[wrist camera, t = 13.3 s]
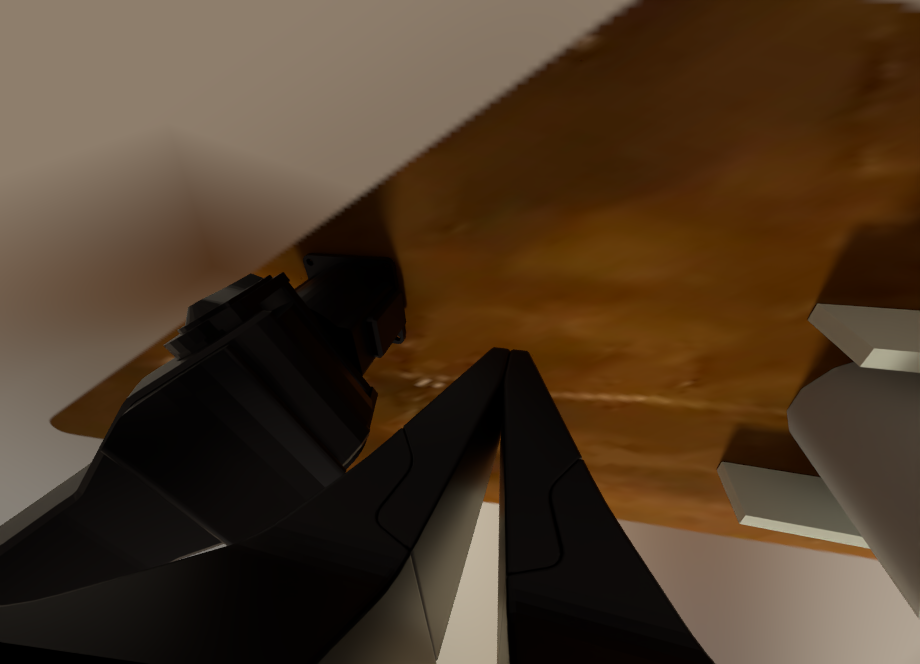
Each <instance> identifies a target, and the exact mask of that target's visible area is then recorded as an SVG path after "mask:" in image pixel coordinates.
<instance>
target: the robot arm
mask: <svg viewBox="0 0 920 664" xmlns="http://www.w3.org/2000/svg"><path fill="white" fill-rule="evenodd" d="M310 259H311V260H312V261H313V263H312V262H311V261H310ZM303 262H304V265H305V269H306V272H307V275H308V280H306V281H305V282H304V283H302V284H301V285H299V286H298V287H297V288H295V289H294V288H293V287H292V286H291V284H290V283H289V281H290V280H289V279H288V277H287V276H286V275H285V273H284V272H282V273H281V274H279V275H277V276H275V277H274V278H272V277H271V275H269V276H267V277H265V278H261V277H259V276H256V275H254V274H249V275H247V276H245V277H244V278H242V279H240V280H238V281H237V282H235V283H233V284H231V285H229V286H227V287H226V288H224V289H222V290H220V291H218V292H216V293H214V294H212V295H210V296H208V297H206V298H204V299H202V300H200V301H198V302H196V303H195V304H193V305H191V306H190V307H188V311H187V317H186V324H185V326H183V327H182V328H180V329H179V330H177V331H178V332H179V333H180V334H179V335H178V336H176V337H175V338H173V339H172V340H171V341H169V342H168V343H166V344H165V345H163V346H164V347H165V348H167V349H168V350H169V351H170V352H171V353H172V354H173V355H174V356H175V358H174V359H172V360H171V361H169V362H168V363H166V364H164V365H163V366H161V367H160V368H158V369H157V370H155V371H154V372H152V373H150V374H149V375H147V376H146V377H145V378H143V379H142V380H141V381H140V382H139V384H138V385H137V386H136V387H135V389H134V390H133V391H132V393H131V394H130V395H129V396H128V398H127V399H126V400H125V402H124V403H123V404H122V406H121V408H120V410H119V412H118V414H117V415H116V417H115V419H114V421H113V423H112V425H111V427H110V429H109V430H108V432H107V434H106V436H105V438H104V440H103V442H102V444H101V446H100V447H99V449H98V451H97V453H96V455H95V457H94V459H93V461H92V462H91V463H90V464H89V465H88V466H86V467H85V468H83V469H82V470H81V471H79V472H78V473H76V474H75V475H73V476H72V477H70V478H69V479H68V480H66V481H65V482H63V483H62V484H60V485H59V486H57V487H56V488H55V489H53V490H52V491H50V492H49V493H47V494H46V495H44V496H43V497H42V498H40V499H39V500H37V501H36V502H34V503H33V504H31V505H30V506H29V507H27V508H26V509H24V510H23V511H21V512H20V513H18V514H17V515H16V516H14V517H13V518H11V519H10V520H9V521H7V522H5V523H4V524H3V525H1V526H0V664H436V660H437V659H438V656H439V653H440V649H441V645H442V642H443V639H444V635H445V632H446V628H447V625H448V621H449V617H450V614H451V611H452V607H453V604H454V600H455V597H456V593H457V590H458V586H459V583H460V579H461V575H462V572H463V568H464V565H465V561H466V558H467V554H468V551H469V547H470V544H471V540H472V537H473V533H474V529H475V526H476V523H477V519H478V516H479V512H480V509H481V505H482V502H483V498H484V495H485V491H486V488H487V484H488V481H489V477H490V474H491V470H492V467H493V463H494V460H495V456H496V453H497V449H498V445H499V441H500V436H501V442H500V494H499V565H498V568H499V569H498V632H497V637H498V638H497V639H498V640H497V664H715V663H714V661H713V660H712V659H711V658H710V657H709V656H708V655H707V653H706V652H705V651H704V649H703V648H702V647H701V645H700V644H699V643H698V642H697V640H696V639H695V637H694V636H693V635H692V633H691V632H690V630H689V629H688V627H687V626H686V625H685V623H684V622H683V620H682V619H681V617H680V616H679V614H678V613H677V611H676V610H675V608H674V606H673V605H672V603H671V602H670V601H669V599H668V598H667V596H666V594H665V593H664V591H663V590H662V588H661V587H660V585H659V584H658V582H657V581H656V579H655V578H654V576H653V575H652V573H651V572H650V570H649V569H648V567H647V565H646V564H645V562H644V561H643V559H642V558H641V556H640V555H639V553H638V552H637V550H636V549H635V547H634V546H633V544H632V543H631V541H630V540H629V538H628V537H627V535H626V534H625V532H624V530H623V529H622V527H621V526H620V524H619V523H618V521H617V519H616V518H615V516H614V514H613V513H612V511H611V510H610V508H609V506H608V505H607V503H606V501H605V500H604V498H603V496H602V494H601V492H600V490H599V489H598V487H597V485H596V483H595V481H594V480H593V478H592V476H591V474H590V472H589V470H588V468H587V466H586V464H585V462H584V460H582V456H581V454H580V452H579V450H578V448H577V446H576V444H575V442H574V441H573V439H572V437H571V435H570V433H569V431H568V429H567V427H566V425H565V423H564V421H563V419H562V417H561V415H560V413H559V411H558V409H557V407H556V405H555V403H554V401H553V399H552V397H551V395H550V393H549V391H548V389H547V387H546V385H545V383H544V381H543V379H542V377H541V375H540V373H539V371H538V369H537V367H536V365H535V363H534V361H533V359H532V357H531V355H530V353H529V352H528V351H523V350H511V351H510V350H509V349H505V348H497V347H494V348H492V349H491V350H489V351H488V352H487V353H486V354H485V355H484V356H483V357H481V358H480V359H479V360H478V361H477V362H476V363H475V364H473V365H472V366H471V367H470V368H469V369H468V370H467V371H466V372H464V373H463V374H462V375H461V376H460V377H459V378H458V379H456V380H455V381H454V382H453V383H452V384H451V385H450V386H449V387H447V388H446V389H445V390H444V391H443V392H442V393H441V394H439V395H438V396H437V397H436V398H435V399H434V400H433V401H432V402H430V403H429V404H428V405H427V406H426V407H425V408H424V409H422V410H421V411H420V412H419V413H418V414H417V415H416V416H415V417H413V418H412V419H411V420H410V421H409V422H408V423H407V424H405V425H404V427H403V428H401V429H400V430H398V431H397V432H396V433H395V434H394V435H393V436H392V437H390V438H389V439H388V440H387V441H386V442H385V443H383V444H382V445H381V446H380V447H379V448H377V449H376V450H375V451H374V452H373V453H371V454H370V455H369V456H368V457H366V458H365V459H364V460H362V461H361V462H360V463H358V464H357V465H356V466H354V467H353V468H352V469H350V470H349V471H348V472H346V469H347V468H348V467H349V466H350V465H351V464H352V463H353V462H354V461H355V459H356V458H357V457H358V456H359V454H360V453H361V451H362V449H363V448H364V446H365V443H366V440H367V438H368V436H369V432H370V425H371V421H372V417H373V412H374V408H375V404H376V400H377V396H378V393H377V392H376V390H375V389H374V388H373V387H370V386H369V384H368V383H367V382H366V380H365V379H364V378H363V377H362V376H363V374H364V373H365V372H366V370H367V369H368V367H369V366H370V365H371V363H372V362H373V360H374V359H375V358H376V357H377V358H381V357H382V356H383V355H384V354H385V353H386V351H387V350H388V348H389V347H390V345H391V344H392V343H396V344H401V343H402V342H403V341H404V339H405V338H406V335H405V328H404V325H405V324H406V318H405V311H404V304H403V297H402V292H401V291H400V289H399V288H398V281H397V274H396V267H395V263H394V261H393V260H392V259H390V258H387V257H372V256H354V255H337V254H320V253H309V254H307V255H306V256H304V258H303ZM384 263H385V264H387V265H388V266H389V268H386V267H385V265H384ZM397 335H398V336H399V337H400V338H398V337H397ZM345 472H346V473H345ZM221 544H226V545H227V546H226V547H223V548H219V549H215V550H212V551H209V552H205V553H202V554H198V555H195V556H191V557H188V556H190V555H194V554H196V553H199V552H202V551H205V550H207V549H210V548H213V547H216V546H219V545H221ZM185 557H188V558H185ZM182 558H184V559H182ZM179 559H181V560H179Z"/></svg>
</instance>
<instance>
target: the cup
mask: <svg viewBox="0 0 920 664" xmlns="http://www.w3.org/2000/svg"><path fill="white" fill-rule="evenodd" d="M787 417H788V425H789V432H790V433H791V435H792V436H793V437H794V439H795V440H796V442H797V443H798V445H799V446H800V448H801V449H802V450H803V452H804V453H805V455H806V456H807V458H808V459H809V461H810V462H811V463H812V465H813V466H814V468H815V469H816V471H817V472H818V474H819V475H820V477H821V478H822V479H823V481H824V482H825V484H826V485H827V487H828V488H829V490H830V491H831V492H832V494H833V495H834V497H835V498H836V500H837V501H838V503H839V504H840V505H841V507H842V508H843V510H844V511H845V513H846V514H847V516H848V517H849V519H850V520H851V521H852V523H853V524H854V526H855V527H856V529H857V530H858V532H859V533H860V534H861V536H862V537H863V539H864V540H865V542H866V543H867V545H868V546H869V547H870V549H871V550H872V552H873V553H874V555H875V556H876V558H877V559H878V561H879V562H880V563H881V565H882V566H883V568H884V569H885V571H886V572H887V573H888V575H889V576H890V578H891V579H892V581H893V582H894V584H895V585H896V587H897V588H898V589H899V591H900V592H901V594H902V595H903V597H904V598H905V600H906V601H907V602H908V604H909V605H910V607H911V608H912V610H913V611H914V613H915V614H916V616H917V617H918V618H919V619H920V373H917V372H907V371H897V370H887V369H877V368H867V367H860V366H858V365H857V364H856V363H855V362H852V363H849V364H845V365H842V366H839V367H836V368H833V369H832V370H830V371H828V372H827V373H825V374H824V375H822V376H821V377H819V378H817V379H816V380H814V381H813V382H811V383H810V384H808V385H807V386H805V387H803V388H802V389H801V390H800V392H799V393H798V395H797V396H796V398H795V399H794V401H793V402H792V404H791V405H790V407H789V408H788V410H787Z"/></svg>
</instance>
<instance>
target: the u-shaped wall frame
mask: <svg viewBox="0 0 920 664" xmlns="http://www.w3.org/2000/svg"><path fill="white" fill-rule="evenodd" d="M808 321H809V322H810V323H811V324H813V325H814V326H815V327H816V328H817V329H818V330H819V331H820V332H821V333H823V334H824V335H825V336H826V337H827V338H828V339H829V340H830V341H832V342H833V343H834V344H835V345H836V346H837V347H838V348H839V349H841V350H842V351H843V352H844V353H845V354H846V355H847V356H848V357H850V358H851V359H852V360H853V361H854V362H855V363H856V364H857V365H858V366H860V367H867V368H877V369H887V370H897V371H907V372H917V373H920V311H919V310H904V309H890V308H875V307H861V306H846V305H831V304H817V305H816V307H815V309H814V310H813V312H812V313H811V315H810V317H809V318H808ZM717 472H718V474H719V477H720V479H721V481H722V484H723V486H724V488H725V491H726V493H727V496H728V498H729V500H730V503H731V505H732V507H733V510H734V512H735V515H736V517H737V519H738V522H739V524H744V525H749V526H754V527H760V528H765V529H770V530H775V531H780V532H786V533H791V534H796V535H801V536H807V537H812V538H817V539H822V540H827V541H833V542H838V543H843V544H848V545H854V546H859V547H864V548H869V549H870V547H869V546H868V545H867V543H866V542H865V540H864V539H863V537H862V536H861V534H860V533H859V532H858V530H857V529H856V527H855V526H854V524H853V523H852V521H851V520H850V519H849V517H848V516H847V514H846V513H845V511H844V510H843V508H842V507H841V505H840V504H839V503H838V501H837V500H836V498H835V497H834V495H833V494H832V492H831V491H830V490H829V488H828V487H827V485H826V484H825V482H824V481H823V479H822V478H821V477H815V476H809V475H803V474H796V473H790V472H784V471H778V470H771V469H765V468H759V467H753V466H746V465H740V464H734V463H727V462H721V464H720V466H719V467H718V469H717Z"/></svg>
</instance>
